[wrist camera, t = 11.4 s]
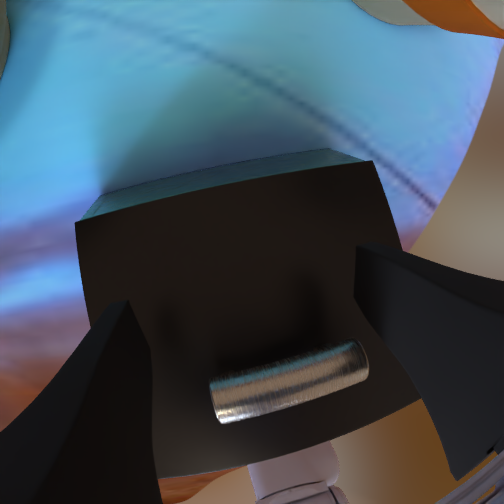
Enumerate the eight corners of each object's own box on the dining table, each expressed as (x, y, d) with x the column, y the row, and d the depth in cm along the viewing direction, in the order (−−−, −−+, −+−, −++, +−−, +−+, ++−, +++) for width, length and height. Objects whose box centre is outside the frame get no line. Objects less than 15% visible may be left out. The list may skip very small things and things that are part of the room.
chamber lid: (423, 391, 13) (473, 409, 9) (145, 474, 11) (125, 521, 7) (367, 164, 14) (407, 125, 10) (79, 225, 12) (35, 197, 8)
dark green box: (333, 294, 24) (359, 327, 20) (153, 339, 22) (152, 382, 18) (329, 148, 18) (366, 160, 14) (99, 195, 16) (78, 220, 12)
